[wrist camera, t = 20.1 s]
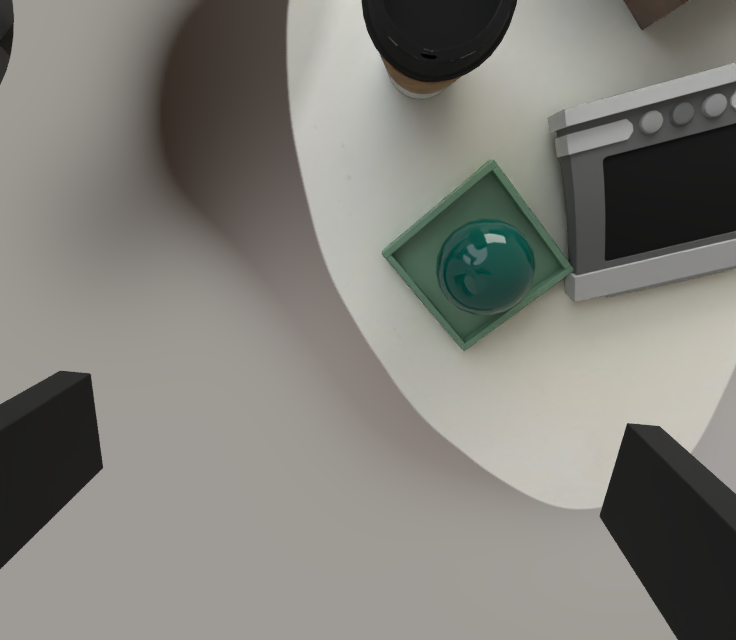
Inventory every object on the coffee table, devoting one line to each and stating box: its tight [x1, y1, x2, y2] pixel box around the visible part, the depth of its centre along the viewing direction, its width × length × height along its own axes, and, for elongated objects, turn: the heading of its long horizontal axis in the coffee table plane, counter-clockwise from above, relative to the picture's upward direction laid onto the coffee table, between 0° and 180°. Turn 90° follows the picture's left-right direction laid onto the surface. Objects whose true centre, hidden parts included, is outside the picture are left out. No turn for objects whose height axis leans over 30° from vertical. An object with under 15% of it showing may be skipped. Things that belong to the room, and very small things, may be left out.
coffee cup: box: [362, 0, 517, 99], centre depth 28 cm, size 8×8×15 cm
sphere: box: [435, 218, 536, 316], centre depth 35 cm, size 8×8×8 cm
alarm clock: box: [548, 63, 736, 302], centre depth 35 cm, size 17×5×16 cm
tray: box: [382, 160, 573, 351], centre depth 39 cm, size 12×12×2 cm
